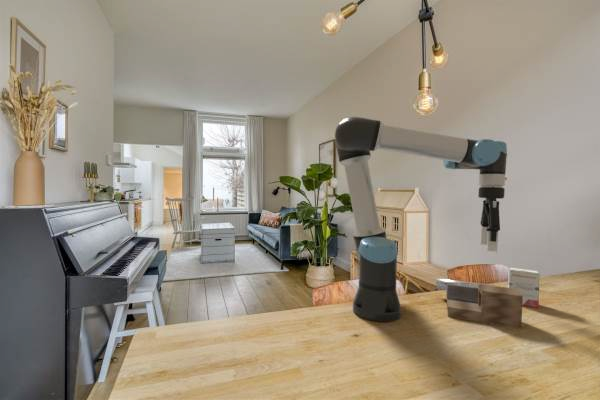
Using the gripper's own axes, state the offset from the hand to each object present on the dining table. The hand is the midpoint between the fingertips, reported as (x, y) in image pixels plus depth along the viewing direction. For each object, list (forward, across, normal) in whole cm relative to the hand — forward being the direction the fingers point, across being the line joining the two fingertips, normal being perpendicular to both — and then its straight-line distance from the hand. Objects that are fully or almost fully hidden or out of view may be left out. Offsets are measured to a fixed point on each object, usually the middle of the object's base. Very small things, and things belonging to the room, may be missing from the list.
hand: (488, 247), depth 102 cm
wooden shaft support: (+20, -14, +3) cm, 24 cm away
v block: (+20, 0, +7) cm, 21 cm away
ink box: (+20, +7, -12) cm, 25 cm away
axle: (+17, 0, +7) cm, 18 cm away
